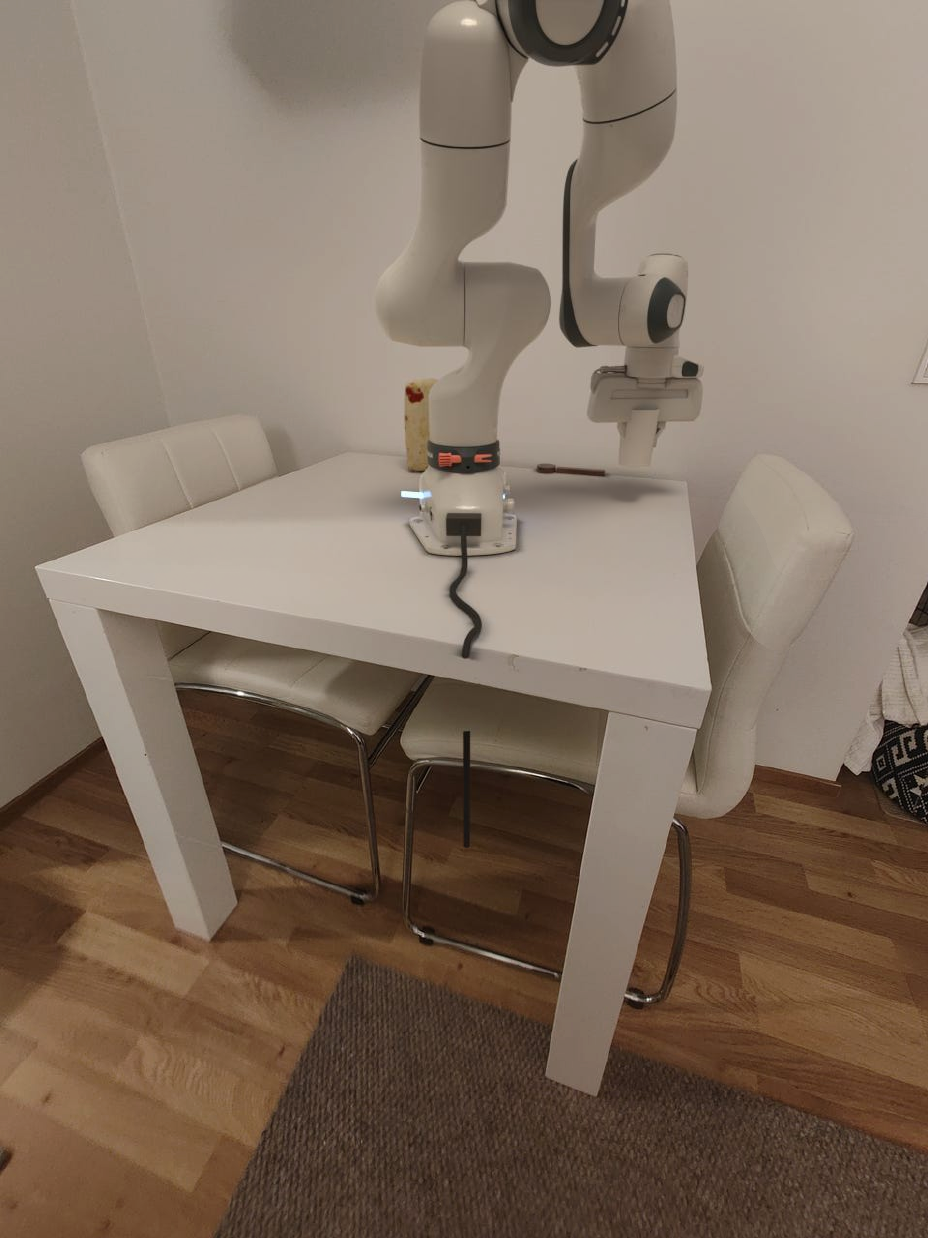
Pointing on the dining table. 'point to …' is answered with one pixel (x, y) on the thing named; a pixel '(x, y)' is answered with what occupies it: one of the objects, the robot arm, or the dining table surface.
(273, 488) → the dining table surface
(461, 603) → the robot arm
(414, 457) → the food model
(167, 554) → the dining table surface
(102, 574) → the dining table surface
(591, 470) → the wooden spoon
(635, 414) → the white cup
